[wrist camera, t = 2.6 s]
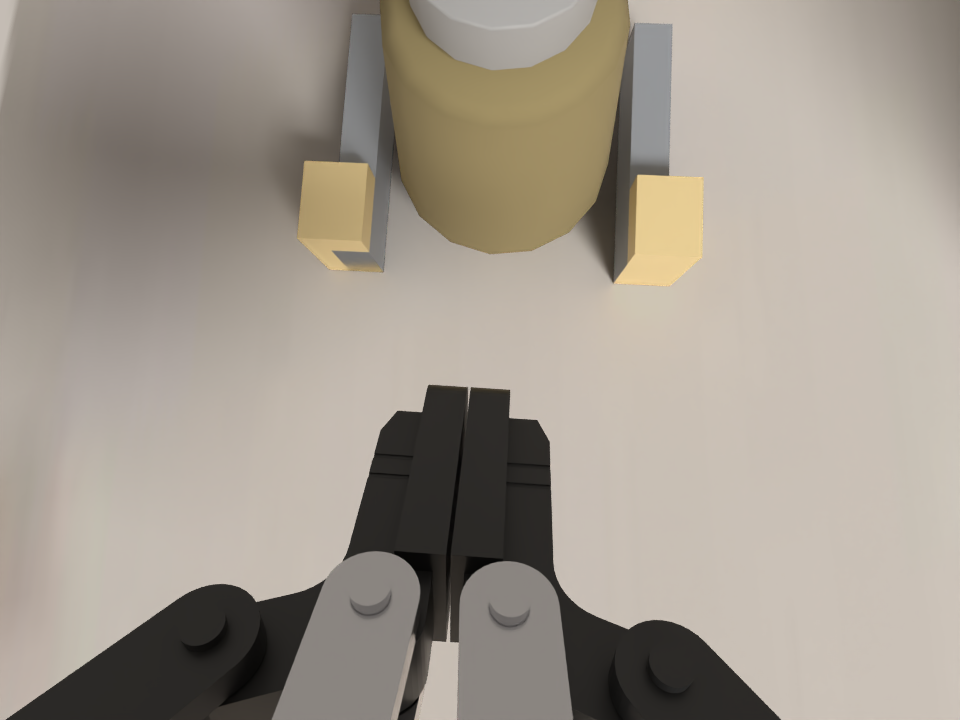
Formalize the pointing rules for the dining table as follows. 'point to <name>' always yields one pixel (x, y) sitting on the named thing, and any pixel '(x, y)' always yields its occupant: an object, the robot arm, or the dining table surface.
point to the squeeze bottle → (503, 112)
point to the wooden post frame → (640, 169)
